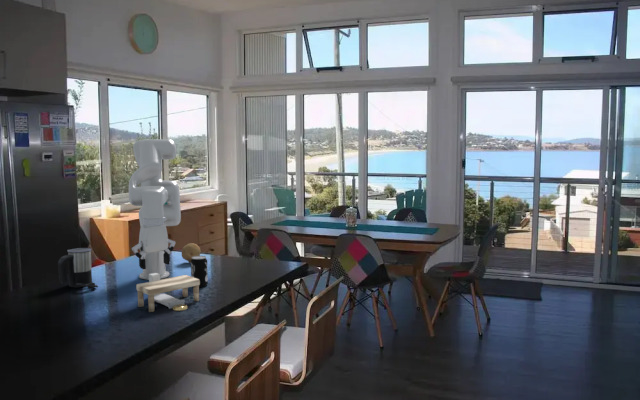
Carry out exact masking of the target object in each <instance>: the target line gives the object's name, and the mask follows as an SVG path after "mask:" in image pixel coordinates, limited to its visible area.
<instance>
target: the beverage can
mask: <svg viewBox="0 0 640 400" xmlns="http://www.w3.org/2000/svg"><path fill="white" fill-rule="evenodd" d="M208 274H209V273H208V259H207V256H205V255H200V256H194V257H192V260H191V263H190V276H191V277H194V278H196V279H199V280H200V285H199V289H200V288H205V287H207V286H208V284H209V281H208V280H209V279H208V278H209V277H208V276H209V275H208Z"/></svg>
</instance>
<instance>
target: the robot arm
mask: <svg viewBox="0 0 640 400" xmlns="http://www.w3.org/2000/svg"><path fill="white" fill-rule="evenodd" d="M132 150H133V155H134V159H135V162H136V164H137V165H138V168H137V169H136V170H135V171H134V172H133V173H132V175H130V179H129V180H128V201H129V203H130V205H132V206H134V207H140V209H139V211H138V219H139V220H138V221H139V226H140V228H139V235H138V237H139V238H138V243H137V244H135V245H134V246H133V247H131V251H132V253H133V254H134V255H135V256H136V257H137V258H138V263H139V264H138V265H139V266H138V267H139V268H140V269H142V272H141V273H140V274H139V276H138V277H139V279H142V280H148V281H149V274H153V273H158V274H160V280H162V279H167V278H169V276H170V272H169V271H167V270H166V265H170V261H171V257H170V255H171V254H172V251H173V250H174V249H175V248H174V247H175V245H176V241H175V240H172V239H169V235H168V230H167V227H174V226H175V227H176V226H178V225H179V224H180V223H181V221H182V219H181V218H182V215H181V214H182V213H181V198H180V197H181V196H180V193H181V192H180V188H179V185H178V182H177V181H175V180H169V179H167V180H166V179H165V180H162V172H163V161H162V160H174V159H175V158H176V157H177V146H176V142H175V141H174V140H173V139H170V138H167V139H165V138H162V139H161V138H160V139H157V138H155V139H154V138H153V139H139V140H137V141H135V142H134V143H133V149H132ZM139 185H140V186H139ZM166 203H168V204H166ZM138 250H139V251H140V252H139V251H138Z"/></svg>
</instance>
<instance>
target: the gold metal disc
mask: <svg viewBox="0 0 640 400" xmlns="http://www.w3.org/2000/svg"><path fill="white" fill-rule="evenodd" d="M185 310H188V305H187V304H177V305H174V306H173V308H172V311H175V312H182V311H185Z"/></svg>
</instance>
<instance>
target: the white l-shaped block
mask: <svg viewBox="0 0 640 400" xmlns="http://www.w3.org/2000/svg"><path fill="white" fill-rule="evenodd" d="M157 280H161V279H160V274H158V273H153V274H149V280H148V282H152V281H157ZM154 302H155V303H158V304H160V305H163V306H165V307H168V309H169V310H170V309H173V306H174V305H177V304H185V302H186V301H185V299H183V298H182V299H179V298H176V297H174V296H171V295H169V294H167V293H160V294H155V295H154ZM185 305H186V304H185Z"/></svg>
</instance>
